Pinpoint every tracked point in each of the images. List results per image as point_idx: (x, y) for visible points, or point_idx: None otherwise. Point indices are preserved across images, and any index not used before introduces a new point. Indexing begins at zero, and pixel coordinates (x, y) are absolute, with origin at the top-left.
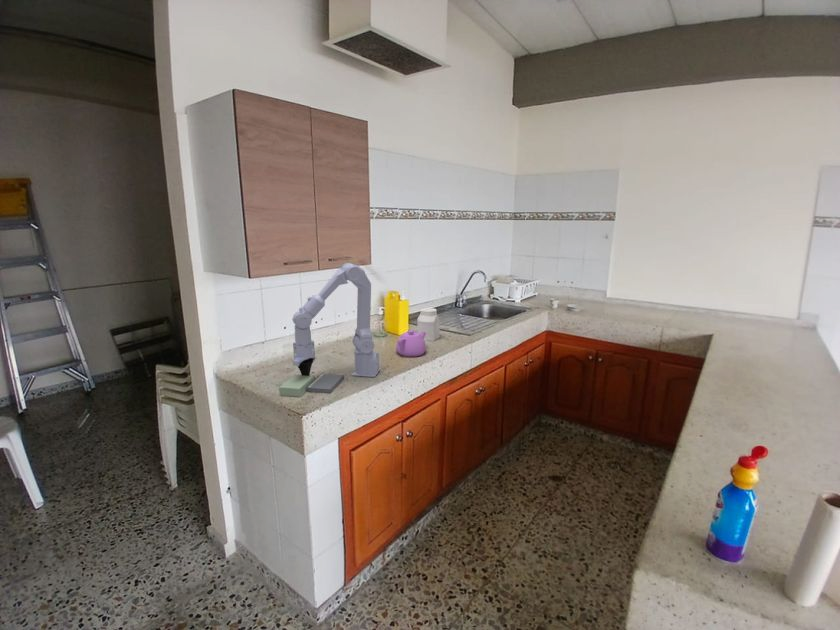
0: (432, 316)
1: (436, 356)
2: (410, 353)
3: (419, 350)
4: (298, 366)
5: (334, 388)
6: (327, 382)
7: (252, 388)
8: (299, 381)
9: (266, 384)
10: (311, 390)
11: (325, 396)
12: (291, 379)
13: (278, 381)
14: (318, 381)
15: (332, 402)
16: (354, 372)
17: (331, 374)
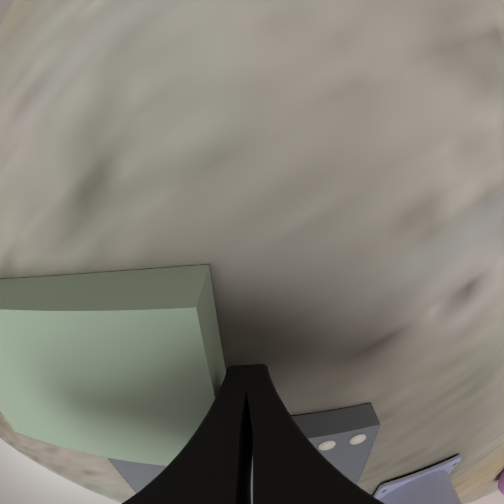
0: None
1: (482, 495)
2: (502, 482)
3: (501, 492)
4: (152, 489)
5: None
6: None
7: (20, 3)
8: (76, 415)
9: (92, 18)
10: None
11: (112, 477)
12: (64, 338)
13: (185, 64)
14: None
15: (91, 490)
16: (407, 481)
17: (359, 466)
